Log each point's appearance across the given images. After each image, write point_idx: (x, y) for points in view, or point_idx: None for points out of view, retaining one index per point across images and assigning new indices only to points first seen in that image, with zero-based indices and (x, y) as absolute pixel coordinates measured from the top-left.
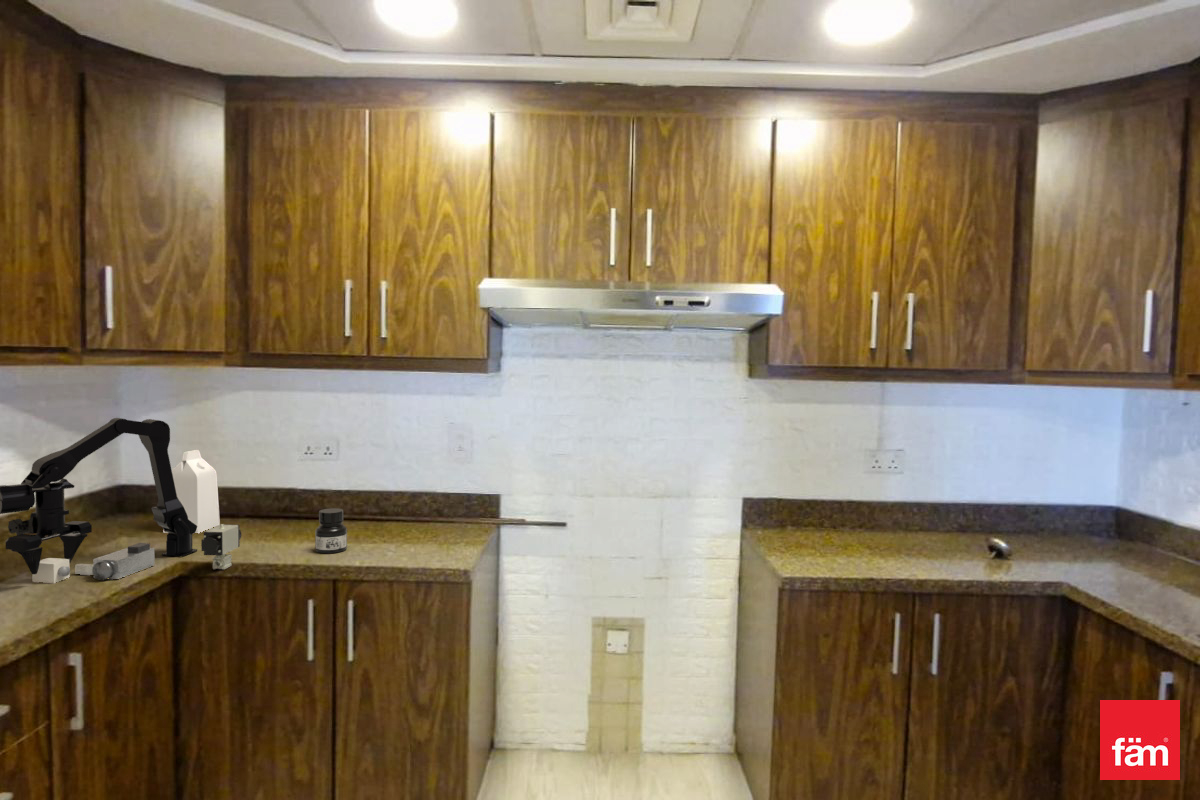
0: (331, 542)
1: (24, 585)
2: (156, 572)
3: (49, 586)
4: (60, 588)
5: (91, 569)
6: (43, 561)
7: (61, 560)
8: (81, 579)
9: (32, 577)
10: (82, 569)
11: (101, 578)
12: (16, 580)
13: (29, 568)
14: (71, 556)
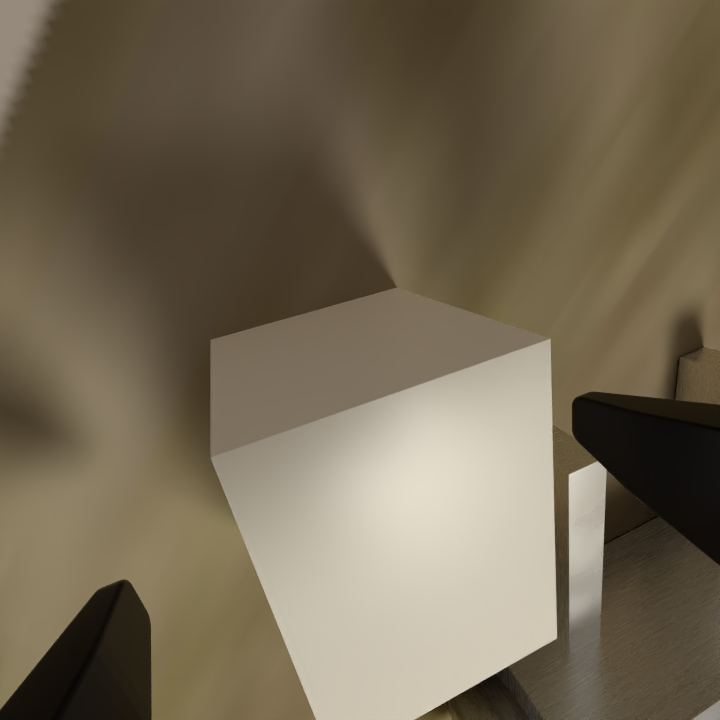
0: None
1: (89, 400)
2: None
3: (214, 607)
4: (229, 707)
5: None
6: (368, 521)
7: (489, 644)
8: None
9: (210, 357)
10: None
11: (454, 718)
12: (135, 70)
13: (23, 697)
14: (656, 511)
